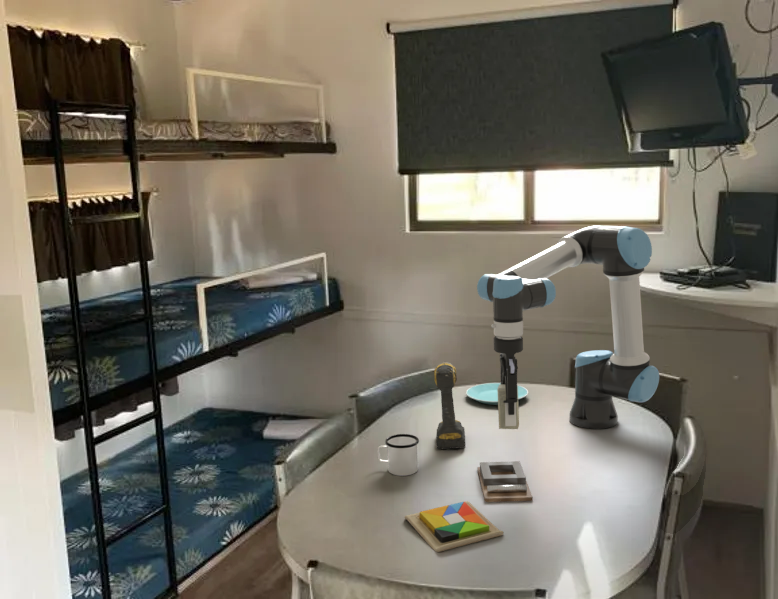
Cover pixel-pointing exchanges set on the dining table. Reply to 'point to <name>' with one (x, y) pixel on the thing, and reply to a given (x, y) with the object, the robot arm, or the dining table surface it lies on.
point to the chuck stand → (503, 480)
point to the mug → (401, 454)
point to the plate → (490, 393)
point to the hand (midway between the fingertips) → (508, 421)
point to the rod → (506, 488)
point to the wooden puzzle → (452, 526)
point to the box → (501, 408)
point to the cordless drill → (448, 409)
